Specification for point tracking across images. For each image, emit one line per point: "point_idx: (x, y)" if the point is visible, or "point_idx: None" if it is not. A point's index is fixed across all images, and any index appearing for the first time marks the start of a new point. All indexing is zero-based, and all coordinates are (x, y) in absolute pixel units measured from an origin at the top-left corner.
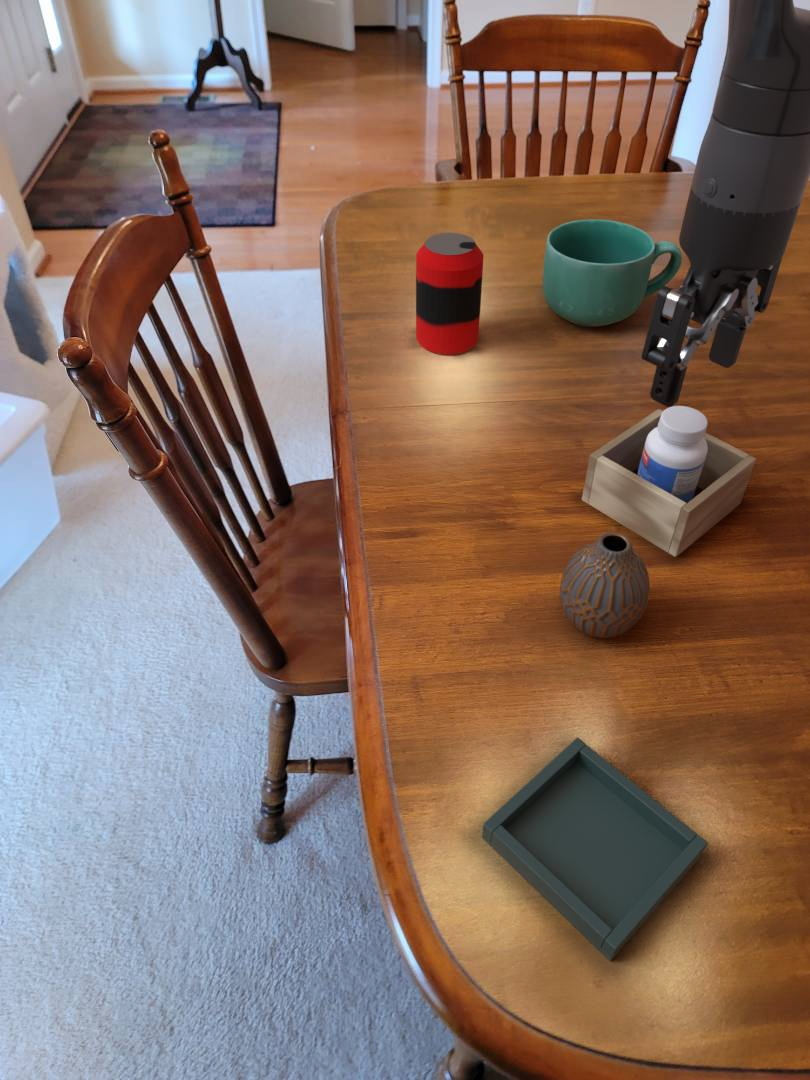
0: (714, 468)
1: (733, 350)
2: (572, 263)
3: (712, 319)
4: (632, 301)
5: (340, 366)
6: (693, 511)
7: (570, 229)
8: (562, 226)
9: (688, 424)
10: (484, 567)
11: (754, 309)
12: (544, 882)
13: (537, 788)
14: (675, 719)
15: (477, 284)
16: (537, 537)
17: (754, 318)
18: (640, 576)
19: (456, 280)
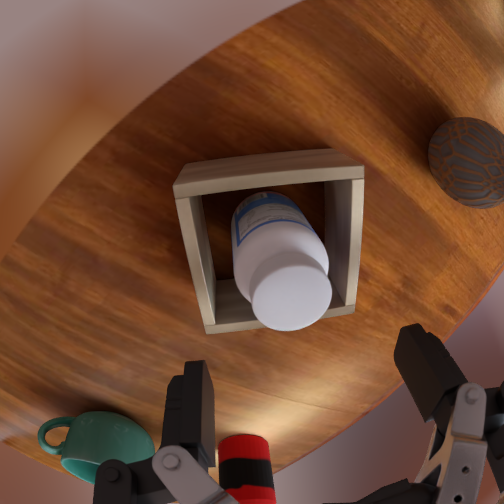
0: (199, 218)
1: (202, 396)
2: None
3: (475, 492)
4: (94, 426)
5: (325, 441)
6: (350, 164)
7: None
8: None
9: (302, 287)
10: (450, 253)
11: (137, 474)
12: None
13: None
14: (470, 47)
15: (237, 484)
16: (401, 256)
17: (152, 459)
18: (496, 138)
19: (260, 491)
